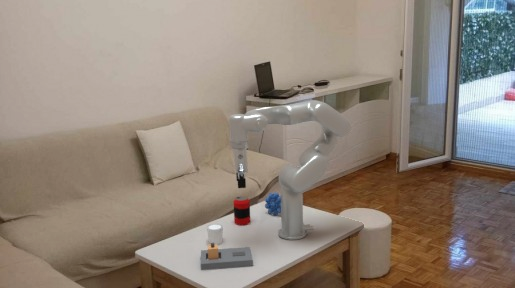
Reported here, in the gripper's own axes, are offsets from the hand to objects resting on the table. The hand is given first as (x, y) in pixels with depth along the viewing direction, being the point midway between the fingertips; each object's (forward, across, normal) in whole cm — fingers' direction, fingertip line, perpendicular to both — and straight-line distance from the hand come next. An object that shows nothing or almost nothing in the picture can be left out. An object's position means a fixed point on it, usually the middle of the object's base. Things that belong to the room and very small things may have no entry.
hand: (241, 184), depth 208 cm
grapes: (+26, +30, -18) cm, 44 cm away
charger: (+26, -16, +13) cm, 34 cm away
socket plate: (+26, -16, +8) cm, 32 cm away
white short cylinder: (+26, +3, +12) cm, 29 cm away
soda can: (+26, +23, -1) cm, 35 cm away
